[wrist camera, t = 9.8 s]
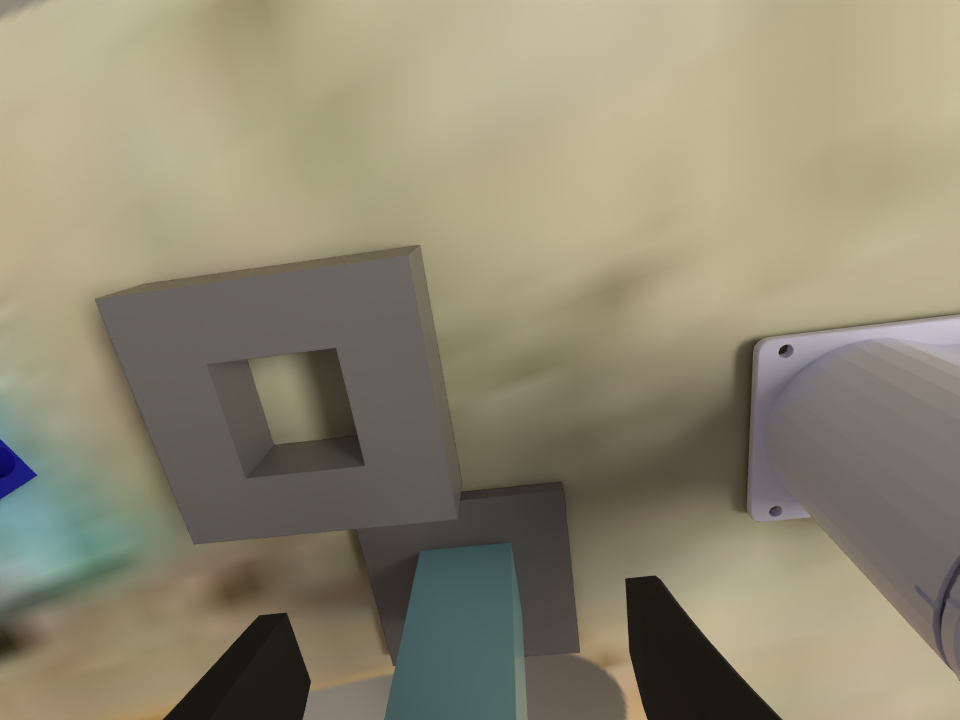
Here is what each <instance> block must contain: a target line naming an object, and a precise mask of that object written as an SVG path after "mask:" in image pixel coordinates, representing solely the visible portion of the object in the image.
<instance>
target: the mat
mask: <svg viewBox="0 0 960 720" xmlns="http://www.w3.org/2000/svg"><path fill="white" fill-rule="evenodd" d="M356 530H357V533H358V537H359V541H360V544H361V548H362V552H363V556H364V559H365V563H366V567H367V570H368V574H369V578H370V582H371V585H372V589H373V593H374V596H375V600H376V604H377V608H378V611H379V615H380V619H381V622H382V626H383V630H384V634H385V637H386V641H387V645H388V648H389V652H390V656H391V660H392V663H393V666H396V662H397V657H398V653H399V648H400V643H401V638H402V634H403V629H404V624H405V620H406V615H407V610H408V606H409V601H410V596H411V591H412V587H413V582H414V577H415V573H416V568H417V563H418V559H419V554H420V551H428V550H438V549H449V548H459V547H470V546H480V545H491V544H501V543H511V546H512V552H513V559H514V565H515V572H516V578H517V584H518V591H519V597H520V604H521V610H522V623H523V643H524V657H526V656H539V655H554V654H568V653H580V647H579V637H578V627H577V617H576V607H575V597H574V587H573V577H572V567H571V557H570V547H569V538H568V528H567V518H566V508H565V498H564V489H563V484H562V482H559V483H549V484H539V485H529V486H519V487H508V488H498V489H488V490H478V491H468V492H461V495H460V503H459V511H458V519H456V520H445V521H435V522H424V523H414V524H403V525H393V526H382V527H372V528H361V529H356Z"/></svg>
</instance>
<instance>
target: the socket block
mask: <svg viewBox="0 0 960 720" xmlns="http://www.w3.org/2000/svg"><path fill="white" fill-rule="evenodd" d="M95 301H96V303H97V306H98V308H99V311H100V313H101V316H102V318H103V321H104V323H105V326H106V328H107V331H108V333H109V336H110V338H111V340H112V343H113V345H114V348H115V350H116V353H117V355H118V358H119V360H120V363H121V365H122V368H123V370H124V373H125V375H126V378H127V380H128V383H129V385H130V388H131V390H132V392H133V395H134V397H135V400H136V402H137V405H138V407H139V410H140V412H141V415H142V417H143V420H144V422H145V425H146V427H147V430H148V432H149V435H150V437H151V440H152V442H153V444H154V447H155V449H156V452H157V454H158V457H159V459H160V462H161V464H162V467H163V469H164V472H165V474H166V477H167V479H168V482H169V484H170V487H171V489H172V492H173V494H174V496H175V499H176V501H177V504H178V506H179V509H180V511H181V514H182V516H183V519H184V521H185V524H186V526H187V529H188V531H189V534H190V536H191V539H192V541H193V544H203V543H214V542H224V541H235V540H245V539H256V538H266V537H277V536H287V535H298V534H308V533H319V532H329V531H340V530H351V529H361V528H372V527H382V526H393V525H403V524H414V523H424V522H435V521H445V520H456V519H458V511H459V503H460V495H461V487H462V479H461V473H460V467H459V462H458V456H457V451H456V445H455V439H454V434H453V428H452V423H451V417H450V411H449V406H448V400H447V394H446V389H445V383H444V378H443V372H442V366H441V361H440V355H439V350H438V344H437V338H436V333H435V327H434V322H433V316H432V310H431V305H430V299H429V293H428V288H427V282H426V277H425V271H424V265H423V260H422V254H421V249H420V245H417V246H410V247H403V248H396V249H389V250H382V251H375V252H368V253H360V254H353V255H346V256H339V257H332V258H325V259H318V260H311V261H304V262H297V263H289V264H282V265H275V266H268V267H261V268H254V269H247V270H240V271H233V272H225V273H218V274H211V275H204V276H197V277H190V278H183V279H176V280H169V281H162V282H154V283H147V284H143V285H139V286H136V287H133V288H129V289H126V290H123V291H120V292H116V293H113V294H110V295H106V296H103V297H100V298H97V299H95ZM331 348H336V350H337V354H338V358H339V362H340V366H341V370H342V374H343V378H344V382H345V386H346V390H347V394H348V398H349V402H350V406H351V410H352V414H353V419H354V423H355V427H356V431H357V435H358V436H353V437H344V438H335V439H326V440H317V441H308V442H298V443H289V444H280V445H274V444H273V441H272V438H271V435H270V431H269V428H268V425H267V422H266V419H265V416H264V412H263V409H262V406H261V403H260V400H259V396H258V393H257V390H256V387H255V384H254V380H253V377H252V374H251V371H250V368H249V365H248V361H247V359H252V358H260V357H268V356H276V355H284V354H292V353H300V352H307V351H315V350H323V349H331Z"/></svg>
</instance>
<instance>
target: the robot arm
mask: <svg viewBox="0 0 960 720" xmlns="http://www.w3.org/2000/svg"><path fill="white" fill-rule="evenodd" d="M786 344H787V345H788V348H787V351H786V352H785V353H783V354H780V355H779V353H778V352H779V349H780V348H781V347H782V346H783V345H786ZM774 506H777V508H775V509H774V510H772V511H769V510H770V509H771V508H772V507H774ZM747 512H748V514H749V515H750V516H751V518H752V519H753V520H755V521H758V522H765V521H776V520H788V519H799V518H810V517H812V518H813V519H814V520H815V521H816V522H817V523H818V525H819V526H820V527H821V528H822V529H823V530H824V531H825V532H826V533H827V534H828V535H829V537H830V538H831V539H832V540H833V541H834V542H835V543H836V544H837V545H838V546H839V548H840V549H841V550H842V551H843V552H844V553H845V554H846V555H847V556H848V557H849V558H850V560H851V561H852V562H853V563H854V564H855V565H856V566H857V567H858V568H859V569H860V571H861V572H862V573H863V574H864V575H865V576H866V577H867V578H868V579H869V580H870V581H871V583H872V584H873V585H874V586H875V587H876V588H877V589H878V590H879V591H880V592H881V594H882V595H883V596H884V597H885V598H886V599H887V600H888V601H889V602H890V603H891V604H892V606H893V607H894V608H895V609H896V610H897V611H898V612H899V613H900V614H901V615H902V617H903V618H904V619H905V620H906V621H907V622H908V623H909V624H910V625H911V626H912V627H913V629H914V630H915V631H916V632H917V633H918V634H919V635H920V636H921V637H922V638H923V640H924V641H925V642H926V643H927V644H928V645H929V646H930V647H931V648H932V649H933V650H934V652H935V653H936V654H937V655H938V656H939V657H940V658H941V659H942V660H943V661H944V663H945V664H946V665H947V666H948V667H949V668H950V669H951V670H952V671H953V672H954V673H955V674H956V676H957V677H958V679H959V681H960V314H958V315H950V316H941V317H933V318H925V319H916V320H908V321H899V322H891V323H882V324H874V325H866V326H857V327H849V328H840V329H832V330H823V331H815V332H807V333H798V334H790V335H781V336H773V337H766V338H763V339H761V340H760V341H758V342H757V344H756V345H755V346H754V350H753V368H752V392H751V416H750V440H749V464H748V489H747ZM625 581H626V599H627V617H628V635H629V652H630V656H631V660H632V664H633V668H634V673H635V677H636V681H637V684H638V688H639V692H640V696H641V700H642V704H643V708H644V710H645V713H646V716H647V719H648V720H782V719H781V718H780V717H779V716H778V715H777V714H776V713H775V712H774V711H773V710H772V708H771V707H770V706H769V705H768V704H767V703H766V702H765V701H764V700H763V699H762V698H761V697H760V696H759V695H758V694H757V693H756V692H755V691H754V690H753V689H752V688H751V687H750V686H749V685H748V684H747V683H746V681H745V680H744V679H743V678H742V677H741V676H740V675H739V674H738V673H737V672H736V671H735V669H734V668H733V667H732V666H731V665H730V664H729V663H728V662H727V661H726V659H725V658H724V657H723V656H722V655H721V654H720V653H719V652H718V650H717V649H716V648H715V647H714V646H713V645H712V644H711V642H710V641H709V640H708V639H707V638H706V637H705V635H704V634H703V633H702V632H701V631H700V629H699V628H698V627H697V626H696V625H695V623H694V622H693V621H692V620H691V618H690V617H689V616H688V615H687V614H686V612H685V611H684V610H683V609H682V607H681V606H680V605H679V603H678V602H677V601H676V600H675V598H674V597H673V596H672V594H671V593H670V592H669V590H668V589H667V588H666V586H665V585H664V583H663V582H662V581H661V579H659V578H658V577H657V576H646V577H636V578H626V579H625ZM310 684H311V681H310V678H309V675H308V672H307V669H306V666H305V663H304V661H303V658H302V655H301V652H300V649H299V646H298V643H297V641H296V638H295V635H294V632H293V629H292V626H291V624H290V621H289V618H288V615H287V613H278V614H269V615H259V616H258V617H257V618H256V620H255V621H254V622H253V623H252V624H251V625H250V626H249V627H248V628H247V629H246V630H245V631H244V632H243V633H242V634H241V636H240V637H239V638H238V639H237V640H236V641H235V642H234V643H233V644H232V645H231V647H230V648H229V649H228V650H227V651H226V652H225V653H224V654H223V655H222V656H221V658H220V659H219V660H218V661H217V662H216V663H215V664H214V665H213V666H212V667H211V669H210V670H209V671H208V672H207V673H206V674H205V675H204V676H203V677H202V678H201V679H200V680H199V682H198V683H197V684H196V685H195V686H194V687H193V688H192V689H191V690H190V691H189V692H188V693H187V695H186V696H185V697H184V698H183V699H182V700H181V701H180V702H179V703H178V704H177V705H176V706H175V707H174V709H173V710H172V711H171V712H170V713H169V714H168V715H167V716H166V717H165V718H164V719H163V720H302V719H303V715H304V711H305V707H306V702H307V698H308V693H309V688H310Z"/></svg>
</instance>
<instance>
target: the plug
mask: <svg viewBox="0 0 960 720" xmlns="http://www.w3.org/2000/svg"><path fill="white" fill-rule="evenodd" d="M526 703H527V702H526V683H525V663H524V643H523V623H522V610H521V604H520V597H519V591H518V584H517V578H516V572H515V565H514V559H513V552H512V546H511V543H501V544H491V545H480V546H470V547H459V548H449V549H438V550H428V551H420V554H419V559H418V563H417V568H416V573H415V577H414V582H413V587H412V591H411V596H410V601H409V606H408V610H407V615H406V620H405V624H404V629H403V634H402V638H401V643H400V648H399V653H398V657H397V662H396V667H395V671H394V676H393V681H392V686H391V690H390V695H389V700H388V704H387V709H386V714H385V718H384V720H527V704H526Z"/></svg>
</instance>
